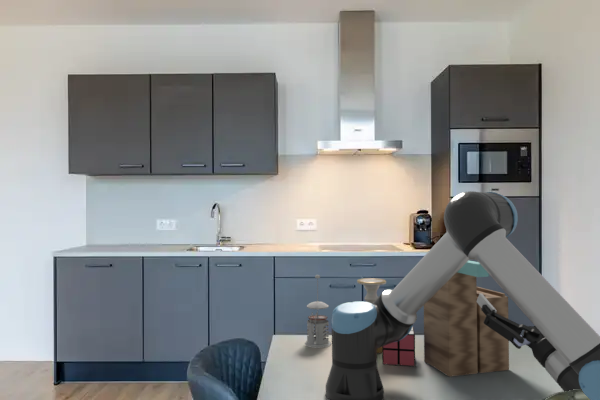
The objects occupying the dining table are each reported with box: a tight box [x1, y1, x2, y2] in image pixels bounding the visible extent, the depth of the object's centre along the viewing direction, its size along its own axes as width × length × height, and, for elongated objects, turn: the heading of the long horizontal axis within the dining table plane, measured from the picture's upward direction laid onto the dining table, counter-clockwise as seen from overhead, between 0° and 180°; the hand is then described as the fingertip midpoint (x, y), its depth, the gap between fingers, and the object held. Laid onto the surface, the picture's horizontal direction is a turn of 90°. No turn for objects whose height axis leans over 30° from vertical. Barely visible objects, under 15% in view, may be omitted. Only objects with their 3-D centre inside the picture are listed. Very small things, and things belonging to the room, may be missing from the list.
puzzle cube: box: [381, 326, 416, 367], centre depth 148 cm, size 10×10×10 cm
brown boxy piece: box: [423, 273, 510, 377], centre depth 143 cm, size 20×14×31 cm
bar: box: [457, 260, 490, 278], centre depth 138 cm, size 24×4×4 cm, turn 15°
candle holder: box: [356, 277, 387, 355], centre depth 161 cm, size 11×11×24 cm
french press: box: [304, 274, 332, 349], centre depth 166 cm, size 10×12×25 cm
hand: (501, 296), depth 121 cm, fingers open, 13 cm apart
